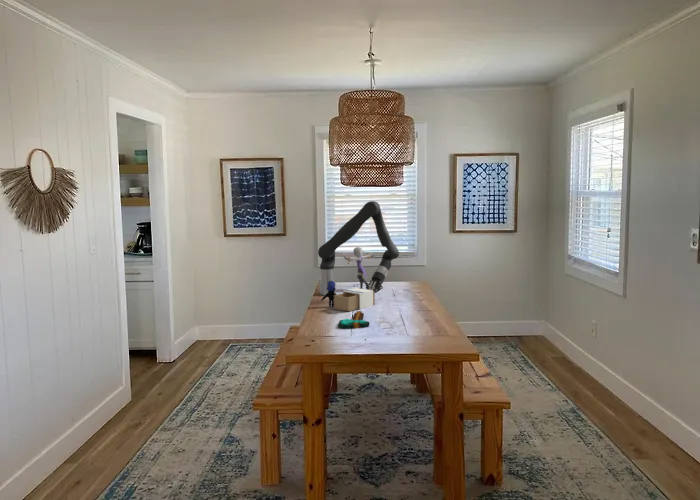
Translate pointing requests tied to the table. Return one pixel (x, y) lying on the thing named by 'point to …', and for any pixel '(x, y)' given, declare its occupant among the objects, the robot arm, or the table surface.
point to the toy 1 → (330, 292)
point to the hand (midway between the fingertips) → (367, 297)
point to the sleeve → (362, 297)
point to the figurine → (359, 264)
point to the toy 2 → (354, 321)
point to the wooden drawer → (348, 301)
